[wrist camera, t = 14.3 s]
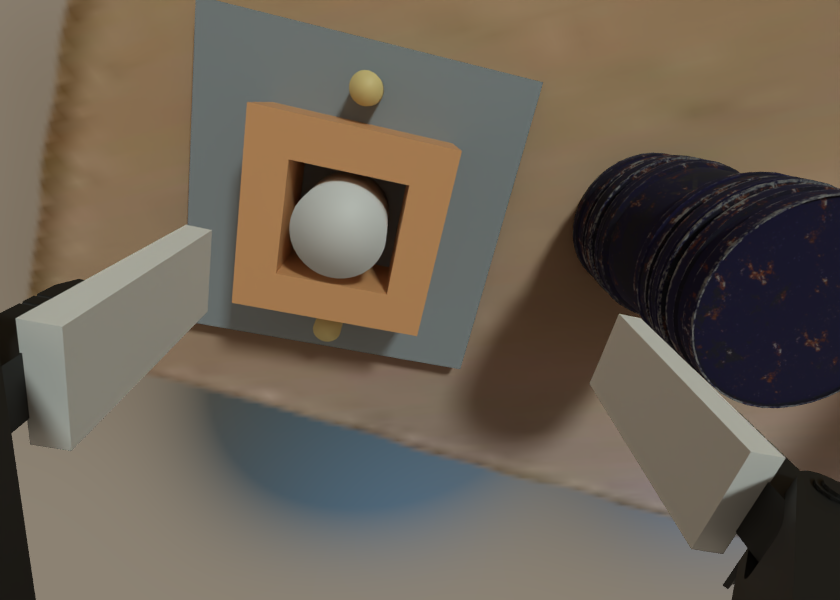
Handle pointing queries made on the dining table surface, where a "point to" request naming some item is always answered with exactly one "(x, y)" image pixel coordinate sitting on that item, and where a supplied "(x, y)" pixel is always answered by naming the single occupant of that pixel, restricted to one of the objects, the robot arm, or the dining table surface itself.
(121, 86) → the dining table surface
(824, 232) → the storage jar
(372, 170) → the square frame
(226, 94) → the post board
